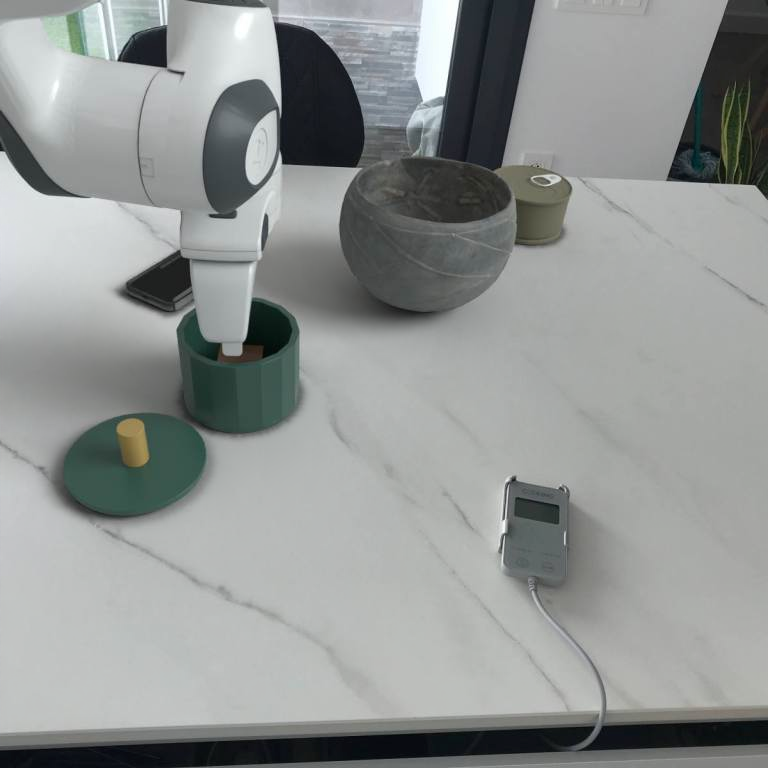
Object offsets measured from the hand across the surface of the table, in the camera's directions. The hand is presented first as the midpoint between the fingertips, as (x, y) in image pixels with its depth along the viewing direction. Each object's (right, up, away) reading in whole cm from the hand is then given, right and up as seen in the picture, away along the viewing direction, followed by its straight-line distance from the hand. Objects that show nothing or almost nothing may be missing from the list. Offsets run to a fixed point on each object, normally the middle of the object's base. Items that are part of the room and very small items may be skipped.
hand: (237, 323), depth 76 cm
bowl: (+19, +5, +24) cm, 31 cm away
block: (-1, -7, +6) cm, 9 cm away
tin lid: (-9, -13, -3) cm, 16 cm away
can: (+35, +18, +40) cm, 56 cm away
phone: (-11, +8, +22) cm, 26 cm away
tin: (-1, -7, +6) cm, 9 cm away
